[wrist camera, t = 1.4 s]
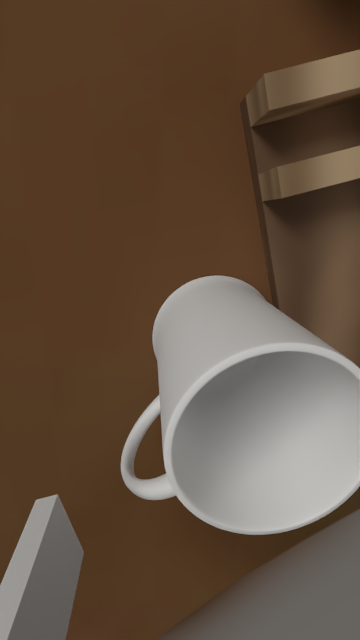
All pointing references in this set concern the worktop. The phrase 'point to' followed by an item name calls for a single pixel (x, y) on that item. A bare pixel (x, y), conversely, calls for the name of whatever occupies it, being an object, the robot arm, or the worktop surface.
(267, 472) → the mug
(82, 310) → the worktop surface
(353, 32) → the worktop surface
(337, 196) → the rack
